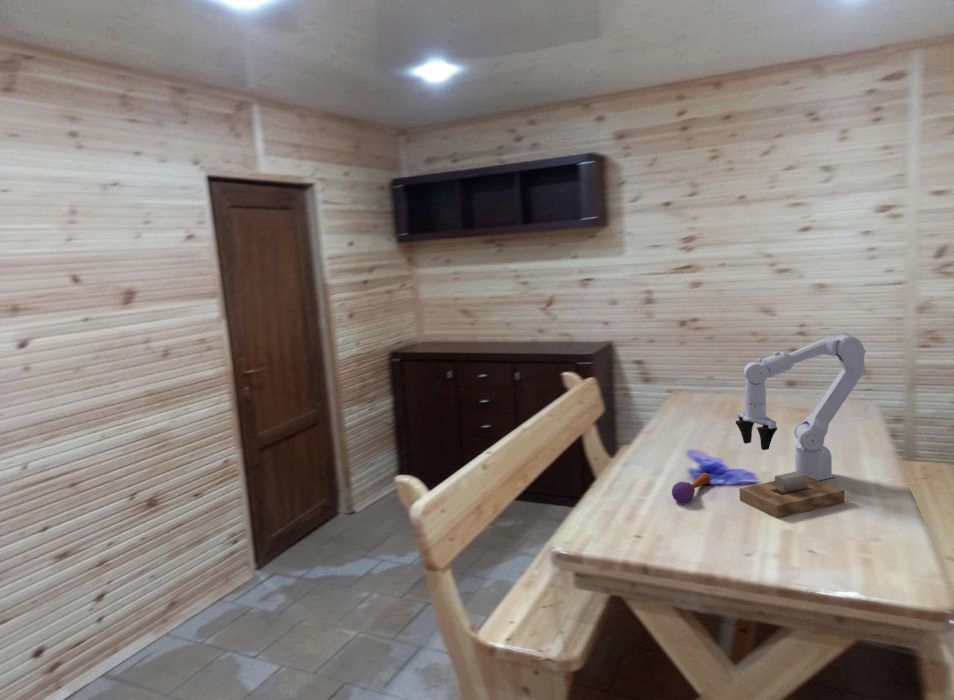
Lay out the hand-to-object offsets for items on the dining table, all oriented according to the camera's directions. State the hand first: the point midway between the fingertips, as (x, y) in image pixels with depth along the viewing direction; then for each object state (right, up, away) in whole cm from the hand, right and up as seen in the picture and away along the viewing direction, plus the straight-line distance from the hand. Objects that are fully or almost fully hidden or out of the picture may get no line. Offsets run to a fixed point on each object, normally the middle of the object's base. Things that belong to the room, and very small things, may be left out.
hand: (756, 446), depth 192 cm
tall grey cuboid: (+1, -12, -19) cm, 23 cm away
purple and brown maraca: (-22, -13, -8) cm, 27 cm away
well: (+1, -12, -19) cm, 23 cm away
